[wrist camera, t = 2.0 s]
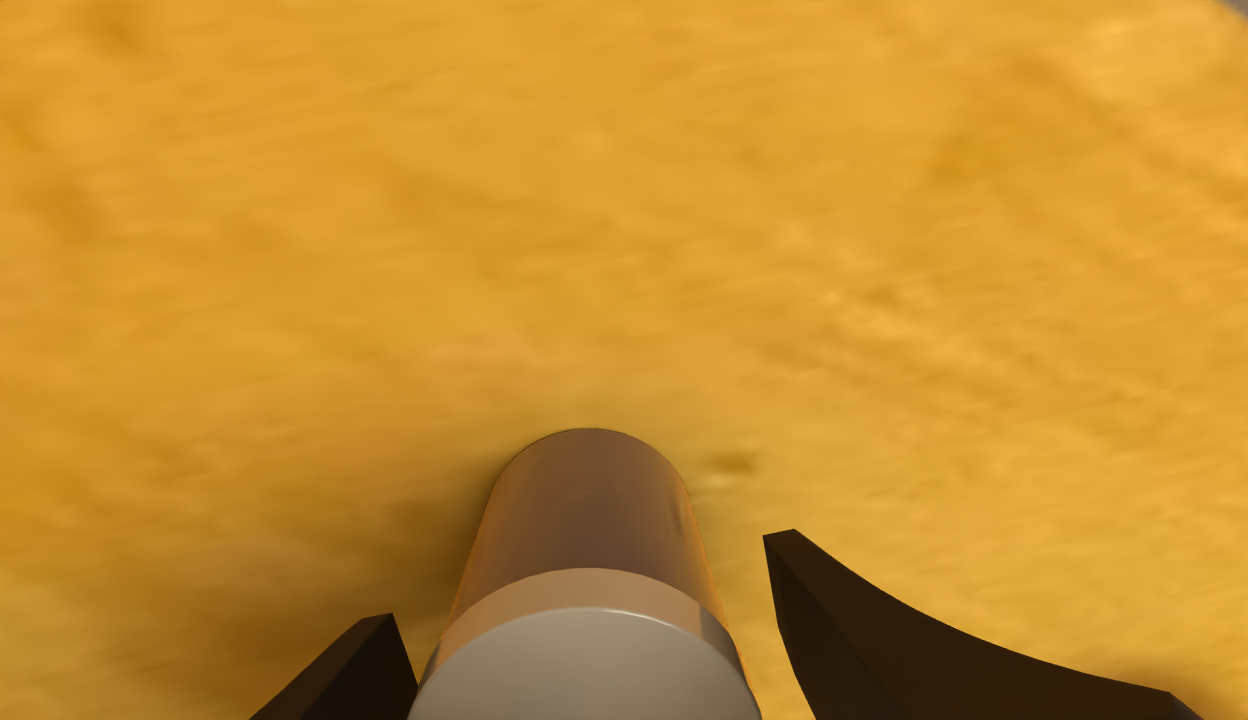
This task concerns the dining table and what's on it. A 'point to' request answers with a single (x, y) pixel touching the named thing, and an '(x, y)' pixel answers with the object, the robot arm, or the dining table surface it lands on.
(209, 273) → the dining table surface
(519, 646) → the spice jar
